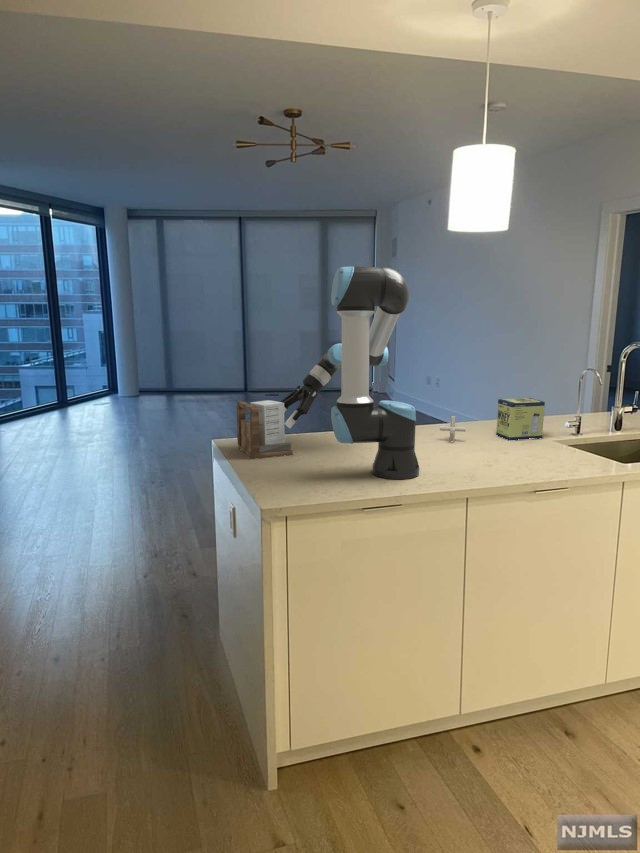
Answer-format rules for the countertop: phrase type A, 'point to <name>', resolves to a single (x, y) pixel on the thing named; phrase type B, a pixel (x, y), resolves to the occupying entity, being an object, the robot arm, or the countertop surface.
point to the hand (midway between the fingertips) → (279, 422)
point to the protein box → (520, 418)
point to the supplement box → (270, 422)
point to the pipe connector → (452, 428)
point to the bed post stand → (255, 435)
